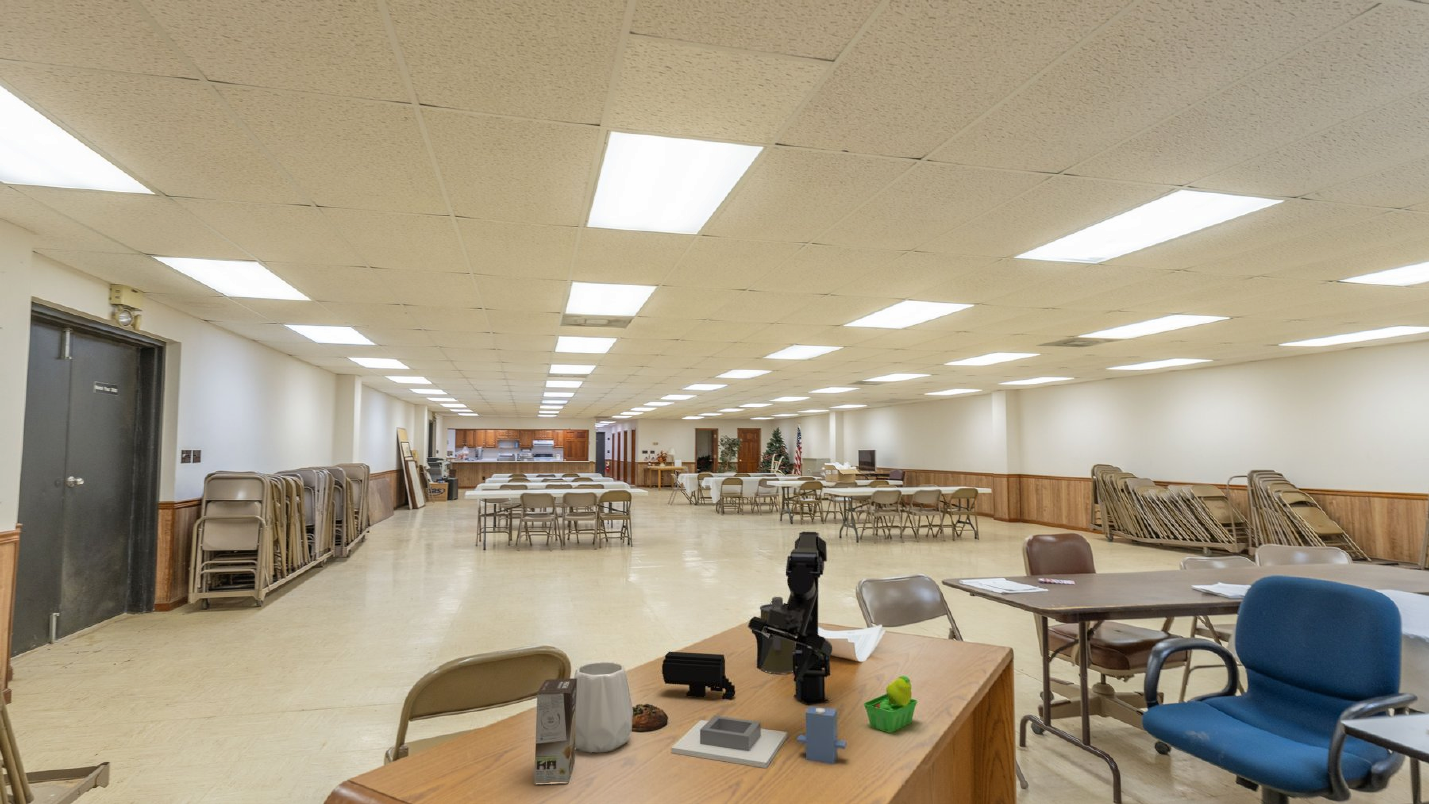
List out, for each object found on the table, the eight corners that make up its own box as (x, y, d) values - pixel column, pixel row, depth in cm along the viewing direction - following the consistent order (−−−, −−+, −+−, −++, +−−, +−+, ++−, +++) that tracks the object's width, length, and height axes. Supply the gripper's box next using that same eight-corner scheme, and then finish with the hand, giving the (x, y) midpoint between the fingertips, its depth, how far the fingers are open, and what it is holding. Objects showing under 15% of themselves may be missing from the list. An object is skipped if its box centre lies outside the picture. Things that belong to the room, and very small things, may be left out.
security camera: (732, 703, 162) (732, 661, 163) (660, 697, 166) (660, 656, 167) (736, 693, 169) (736, 653, 170) (667, 689, 173) (667, 649, 174)
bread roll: (668, 731, 144) (665, 707, 145) (618, 740, 143) (615, 716, 144) (669, 715, 155) (666, 693, 156) (622, 723, 154) (619, 700, 155)
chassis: (671, 752, 133) (671, 732, 134) (700, 724, 148) (700, 706, 149) (766, 768, 126) (766, 747, 127) (787, 737, 141) (786, 718, 142)
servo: (796, 758, 131) (795, 708, 132) (800, 750, 134) (800, 701, 136) (844, 765, 127) (843, 714, 128) (847, 757, 131) (846, 707, 132)
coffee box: (569, 784, 120) (571, 692, 121) (533, 785, 119) (536, 693, 121) (575, 762, 129) (577, 677, 131) (542, 763, 128) (544, 678, 130)
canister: (761, 663, 196) (760, 594, 199) (796, 664, 195) (795, 595, 197) (758, 673, 186) (758, 601, 188) (795, 675, 184) (795, 602, 186)
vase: (602, 762, 129) (603, 682, 130) (550, 747, 136) (552, 671, 138) (646, 738, 141) (647, 664, 142) (596, 725, 148) (597, 655, 150)
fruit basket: (889, 714, 155) (888, 664, 156) (924, 724, 149) (922, 672, 150) (862, 727, 147) (861, 674, 148) (898, 738, 141) (896, 683, 142)
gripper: (749, 583, 148) (723, 651, 141) (823, 602, 137) (799, 677, 130) (770, 600, 156) (747, 666, 149) (842, 620, 144) (820, 692, 138)
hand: (776, 675), depth 141 cm, fingers open, 9 cm apart
